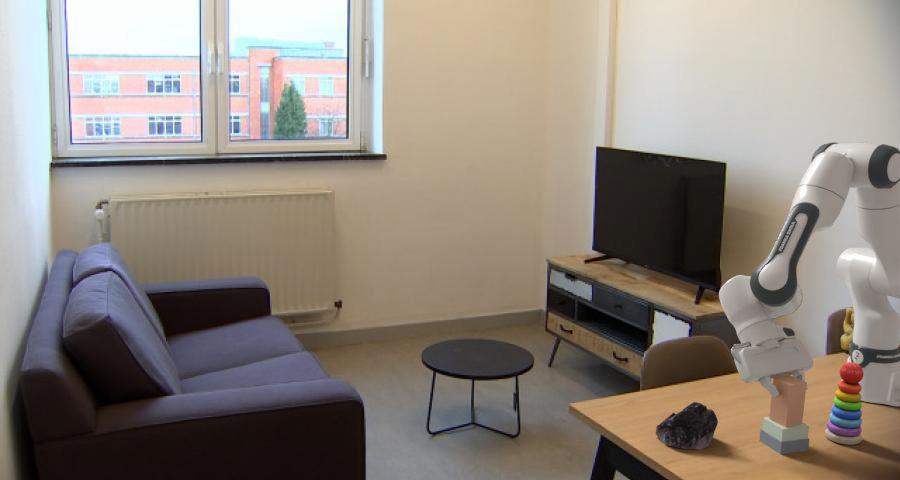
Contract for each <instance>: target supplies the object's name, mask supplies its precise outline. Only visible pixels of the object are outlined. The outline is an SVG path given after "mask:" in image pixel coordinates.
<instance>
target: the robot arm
mask: <svg viewBox="0 0 900 480" xmlns="http://www.w3.org/2000/svg"><path fill="white" fill-rule="evenodd" d="M850 188H853V189H855V191H854V201H855V203H854V204H855V217H856V219H855V220H856V231H857V233H858V236H860V238H861V239H862V240H863V241H864V242H865V243H867V244H868V245H869V247H849V248H846V249H845V250H843V252H841V254H840V255H839V257H838V259H837V261H836V264H835V265H836V266H835V267H836V274H837V276H838V278H839V279H840V281H842V282H843V284H844V285H845V286H846V289H847V291H848V293H849V296H850V298H851V302H852V305H853V306H852V307H854V331H853V339H852V340H851V344H850V351H849V353H850V354H849V356H848V358H847V361H846V363H848V362H854V363H857V364H859V365H860V366H861V367H862V369H863V372H864V376H863V378H862V380H861V381H860V382H859V384H860V385H861V386H862V390H861V391H860V392H859V393H860V394H861V400H860V401H862V402H866V403H871V404H880V405H881V404H882V405H888V406H892V407H900V346H899V345H900V344H899V343H900V314H899V313H898V311H897V310H896V309H894V307H893V306H892V304H891V303H890V301H889V300H890V299H889V298H888V297H891V298H895V299H898V300H899V299H900V149H899V148H897V147H895V146H892V145H890V144H884V143H883V144H877V143H872V142H871V143H870V142H864V141H863V142H861V141H860V142H858V141H857V142H841V143H840V142H836V141H835V142H834V141H833V142H829V143H823V144H822V145H820V146H819V147H818V148H817V149H816V150H815V152H813V154H812V156H811V161H810V164H809V166H808V168H807V169H806V171H804V174H803V176H802V178H801V180H800V182H799V184H798V186H797V188H796V191H795V193H794V196H793V199H792V201H791V206H790V209H789V212H788V215H787V218H786V220H785V222H784V225H783V227H782V228H781V230H780V233H778V236H777V239H776V241H775V242H774V245H773V247H772V249H771V251H770V253H769V254H768V256H766V257H765V258H764V260H763V261H762V262H760V264H758V265H757V266H756V267H755V268H754V270H752V271H753V272H752V273H751V275H750V276H748V275H744V274H738V275H735V276H732V277H730V278H729V279H728V280H727V281H725V282H724V283H723V284H722V286H721V287H720V289H719V292H718V299H719V301H720V304H721V307H722V310H723V311H724V314H725V316H726V317H727V319H728V322H729V323H730V324H731V325H732V326H733V328H734V330H735V331H736V335H737V338H738V340H739V341H740V343H735V344H733V346H732V348H731V355H732V357H733V361H734V364H735V367H736V369H737V372H738V374H739V377H740V379H741V380H742V381H743V382H744V383H745V384H747V385H749V384H752V383H758V382H759V383H760V385H761V387H762V388H764V389H765V390H766V391H768V392H769V394H770V397H771V396H772V397H773V398H775V397H779V396H780V395H781V394H782V392H781V391H780V389H779V387H775V386H774V385H773V382H771V381H772V380H773V378H776V377H782V376H788V375H791V376H793V377H795V378H798V379H800V380H802V381H805V382H806V376H805V373H806V372H808V371H809V370H811V369H812V368H813V367H814V360H813V357H812V355H811V353H810V352H809V350H808V348H807V347H806V346H805V344H804V343H803V342H802V340H801V339H799V338H797V337H798V336H799V333H798V332H797V330H796V329H795V328H792V327H787V326H784V325H780V324H776V323H775V322H774V319H778V318H781V317H785V316H788V315H790V314H793V313H794V312H796V311H797V310H798V309H799V308H800V306H801V304H802V302H803V290H802V288H801V286H800V284H799V281H798V277H797V269H798V265H799V263H800V260H801V258H802V256H803V254H804V252H805V250H806V247H807V245H808V244H809V241H810V240H811V237H812V236H813V235H814V234H815V233H816V232H822V231H825V230H827V229H830V228H831V227H832V226H833V225H834V223H835V222H836V221H837V219H838V217H839V216H840V214H841V211H842V210H843V208H844V205H845V202H846V199H847V198H848V195H849V191H850ZM840 381H843V380H842V379H841V380H840ZM808 388H809V387H808V385H807V384H806V391H807V390H808Z"/></svg>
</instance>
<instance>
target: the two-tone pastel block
mask: <svg viewBox="0 0 900 480" xmlns="http://www.w3.org/2000/svg"><path fill="white" fill-rule="evenodd" d="M809 430H810V425H808V424H806V423H804V422H803V421H802V424H800V425H795V426H790V427H784V426H782V425H780V424H778V423H776V422H774V421H772V420H770V419H769V416H763V418H762V426H761V429H760V430H759V431H760V432H759V442H760V443H762V444H764V445H765V446H767V447H768V448H770V449H771V450H773V451H774V452H776V453H777V454H779V455H784V454H793V453H801V452H807V451H809V447H810V438H809Z"/></svg>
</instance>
